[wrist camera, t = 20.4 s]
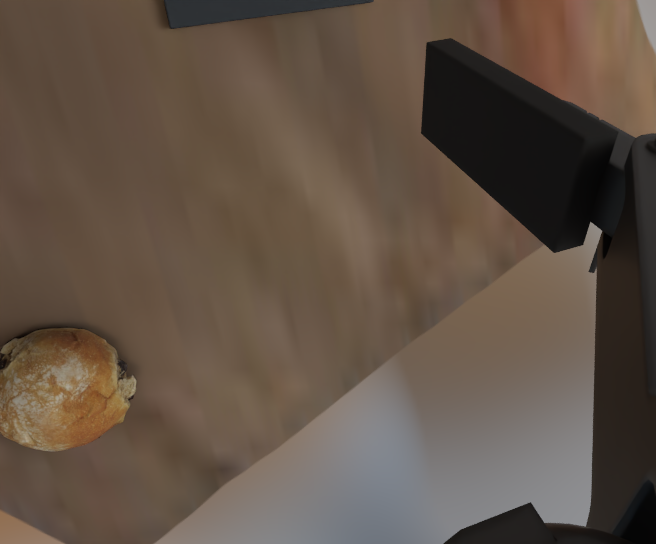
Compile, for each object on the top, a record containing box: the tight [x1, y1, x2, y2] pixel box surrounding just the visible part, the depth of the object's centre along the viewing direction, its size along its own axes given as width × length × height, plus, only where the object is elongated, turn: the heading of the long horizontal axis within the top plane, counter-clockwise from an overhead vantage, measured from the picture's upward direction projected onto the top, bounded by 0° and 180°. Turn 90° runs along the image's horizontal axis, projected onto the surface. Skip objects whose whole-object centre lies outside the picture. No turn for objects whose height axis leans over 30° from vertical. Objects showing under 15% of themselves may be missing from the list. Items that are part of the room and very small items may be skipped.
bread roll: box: [0, 327, 136, 451], centre depth 41 cm, size 10×10×8 cm
